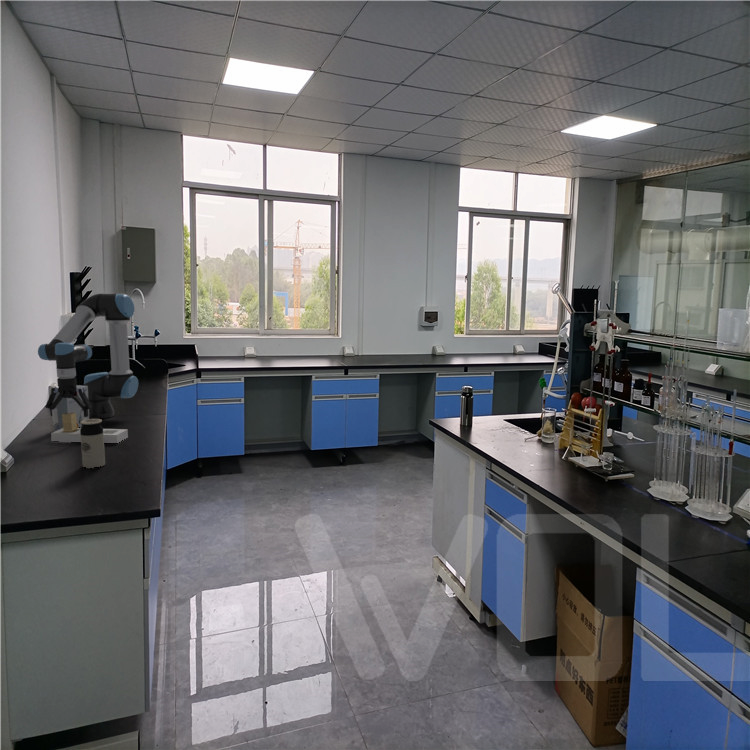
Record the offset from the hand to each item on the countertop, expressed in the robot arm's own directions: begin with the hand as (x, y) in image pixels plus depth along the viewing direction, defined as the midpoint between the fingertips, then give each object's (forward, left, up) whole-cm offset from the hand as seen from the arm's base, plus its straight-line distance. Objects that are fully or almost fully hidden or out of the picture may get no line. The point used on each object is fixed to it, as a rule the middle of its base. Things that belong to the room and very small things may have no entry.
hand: (70, 423), depth 258 cm
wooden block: (0, 0, -7) cm, 7 cm away
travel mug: (+35, +30, -8) cm, 47 cm away
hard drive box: (-20, -11, -8) cm, 24 cm away
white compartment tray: (0, +9, -7) cm, 12 cm away
